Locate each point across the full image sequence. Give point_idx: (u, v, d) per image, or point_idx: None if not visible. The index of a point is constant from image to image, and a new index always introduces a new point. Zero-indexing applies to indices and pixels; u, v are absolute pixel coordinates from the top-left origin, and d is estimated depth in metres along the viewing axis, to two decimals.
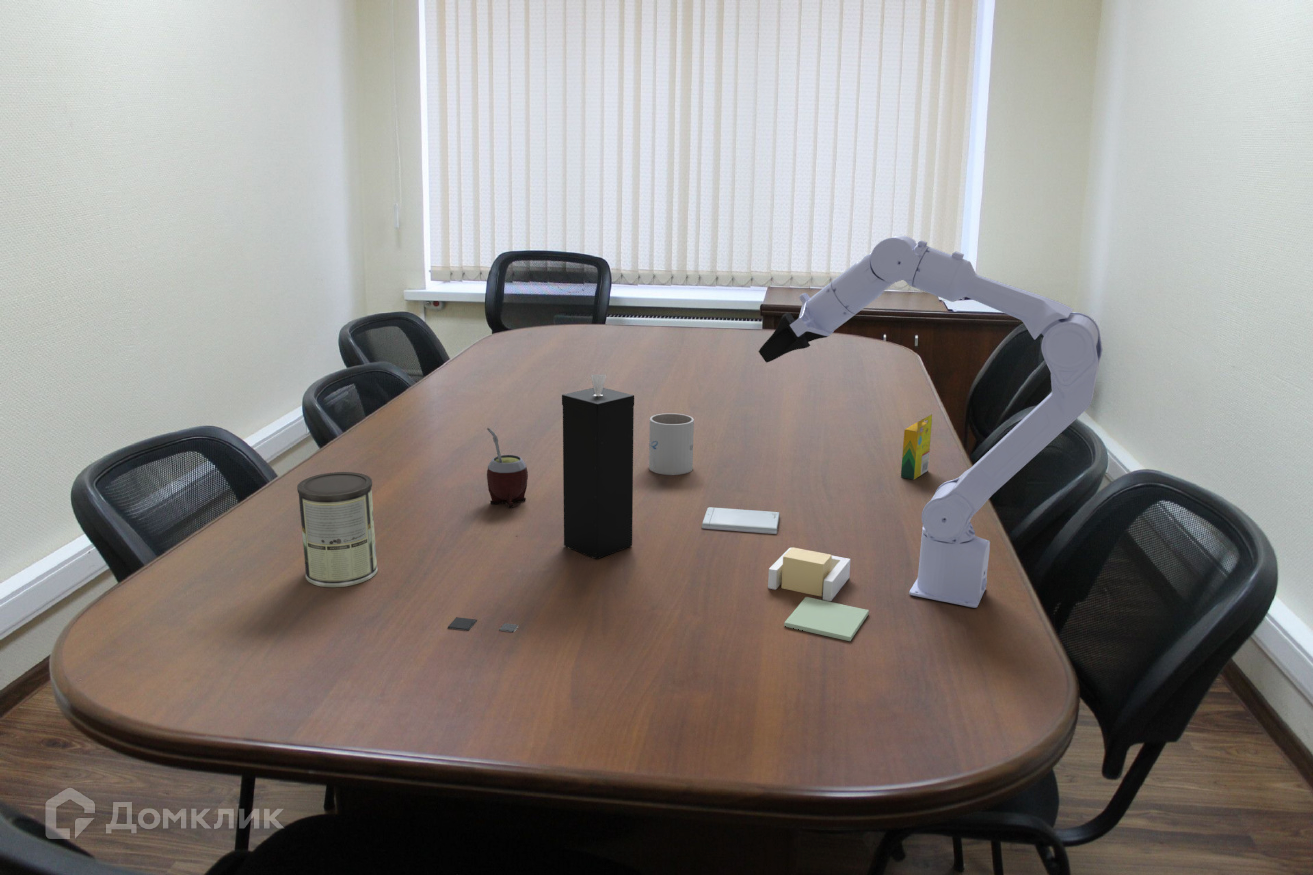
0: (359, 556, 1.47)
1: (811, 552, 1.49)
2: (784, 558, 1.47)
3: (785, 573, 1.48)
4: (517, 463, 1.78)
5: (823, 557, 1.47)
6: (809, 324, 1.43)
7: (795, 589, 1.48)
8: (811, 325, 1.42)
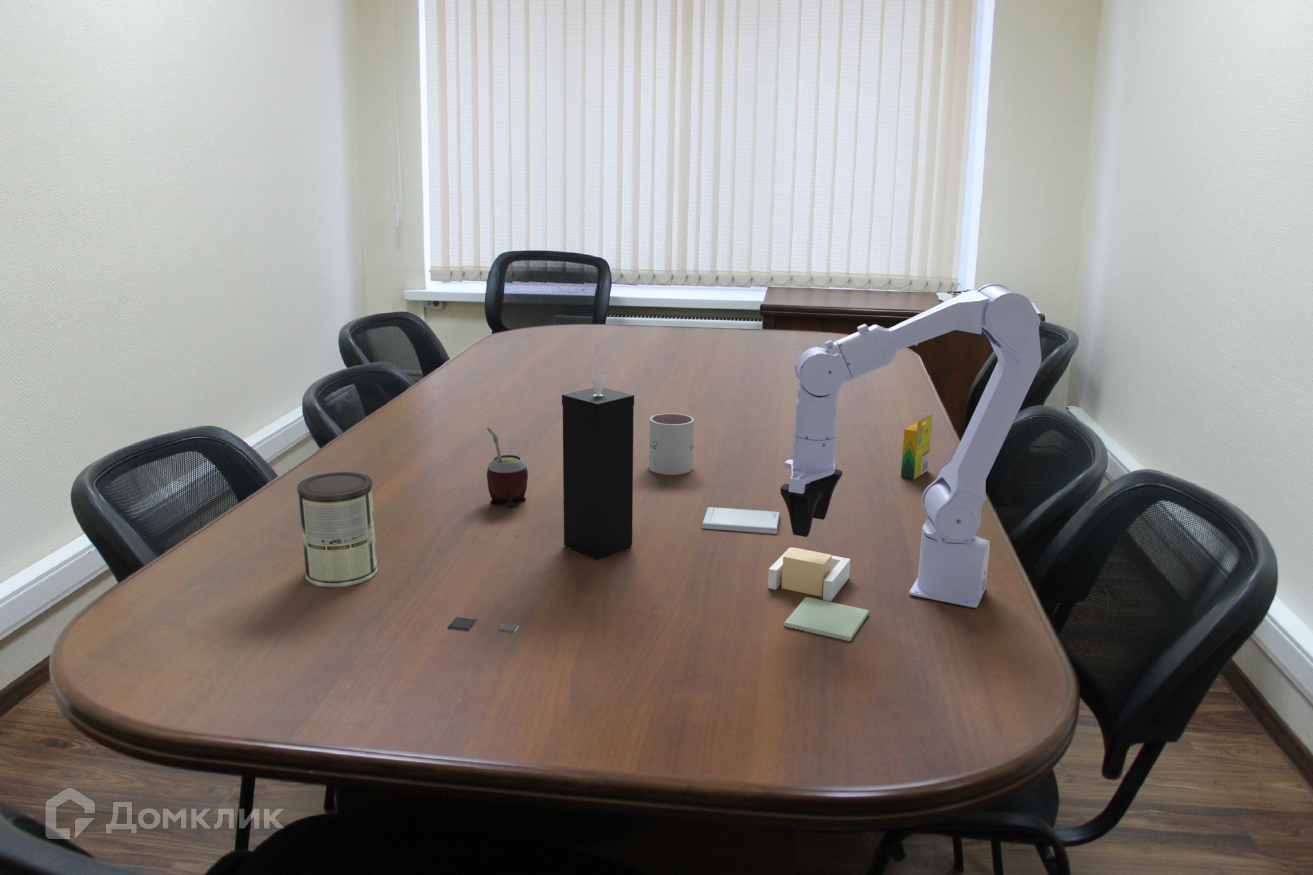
0: (359, 556, 1.47)
1: (811, 552, 1.49)
2: (784, 558, 1.47)
3: (785, 573, 1.48)
4: (517, 463, 1.78)
5: (823, 557, 1.47)
6: (804, 477, 1.40)
7: (795, 589, 1.48)
8: (806, 476, 1.40)
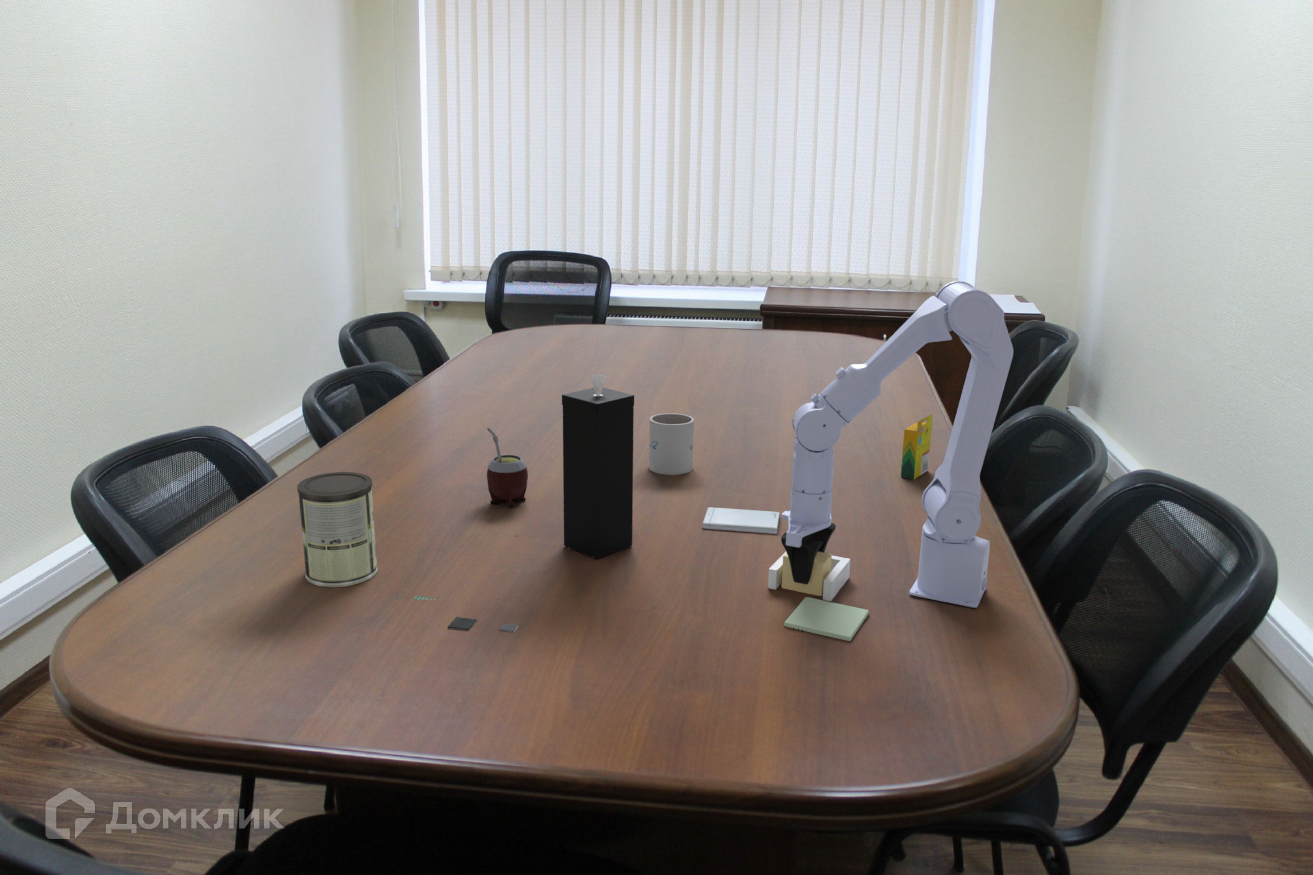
0: (359, 556, 1.47)
1: None
2: (784, 558, 1.47)
3: (785, 572, 1.48)
4: (517, 463, 1.78)
5: (823, 557, 1.47)
6: (801, 530, 1.42)
7: (795, 588, 1.48)
8: (803, 529, 1.42)
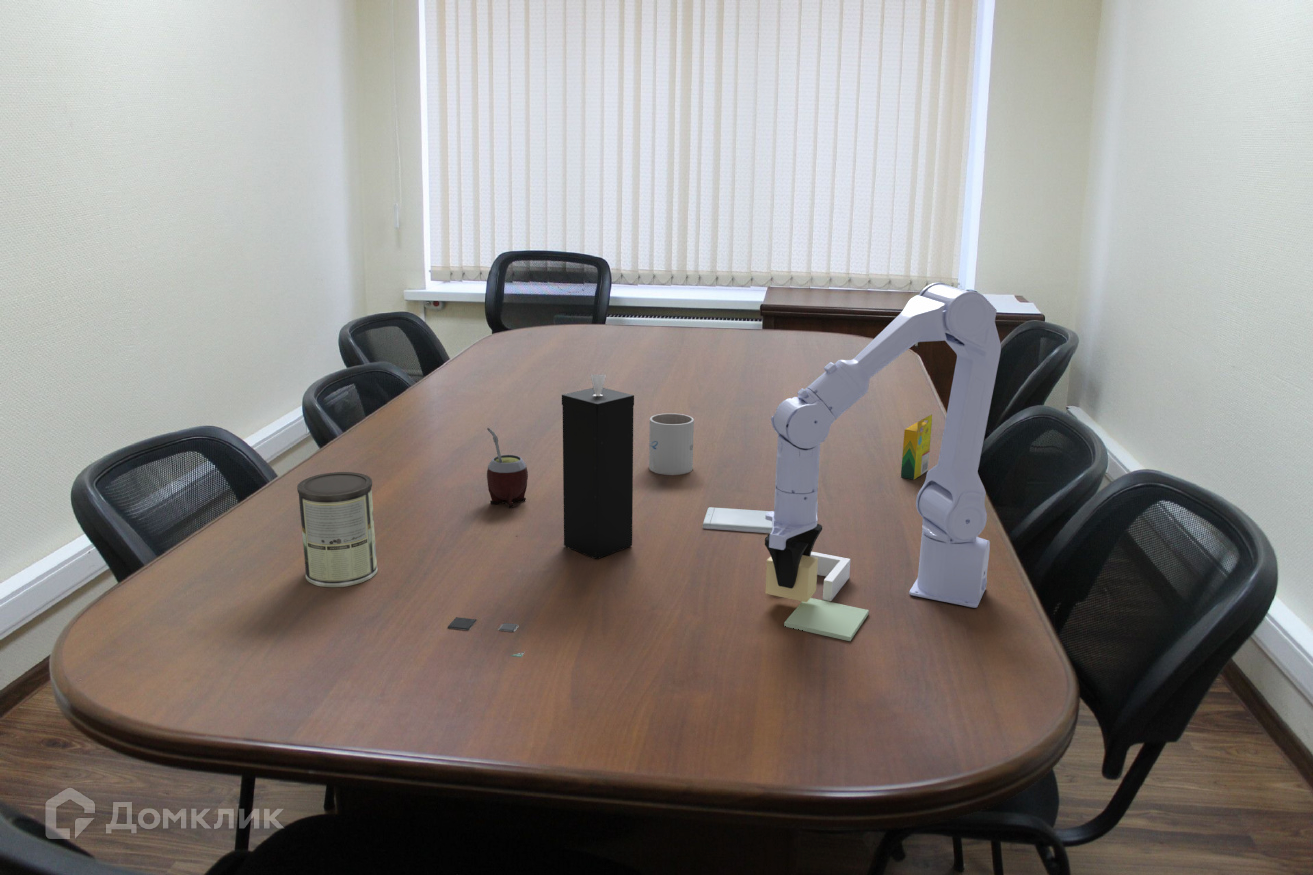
0: (359, 556, 1.47)
1: None
2: (768, 562, 1.41)
3: (769, 577, 1.41)
4: (517, 463, 1.78)
5: (809, 561, 1.40)
6: (785, 532, 1.35)
7: (780, 594, 1.41)
8: (788, 531, 1.35)
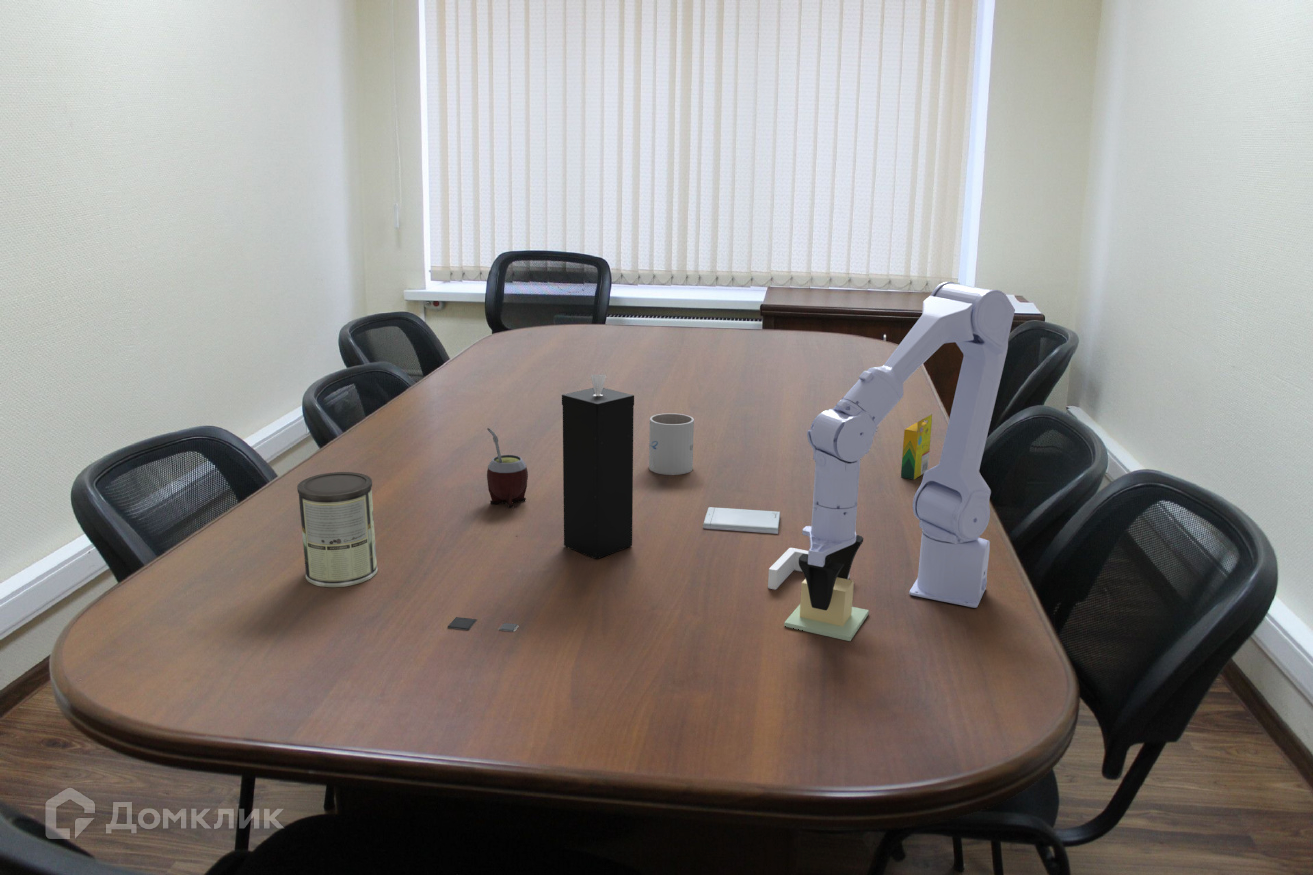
0: (359, 556, 1.47)
1: None
2: (803, 585, 1.37)
3: (804, 600, 1.37)
4: (517, 463, 1.78)
5: (845, 584, 1.37)
6: (824, 548, 1.31)
7: (814, 618, 1.37)
8: (827, 547, 1.31)
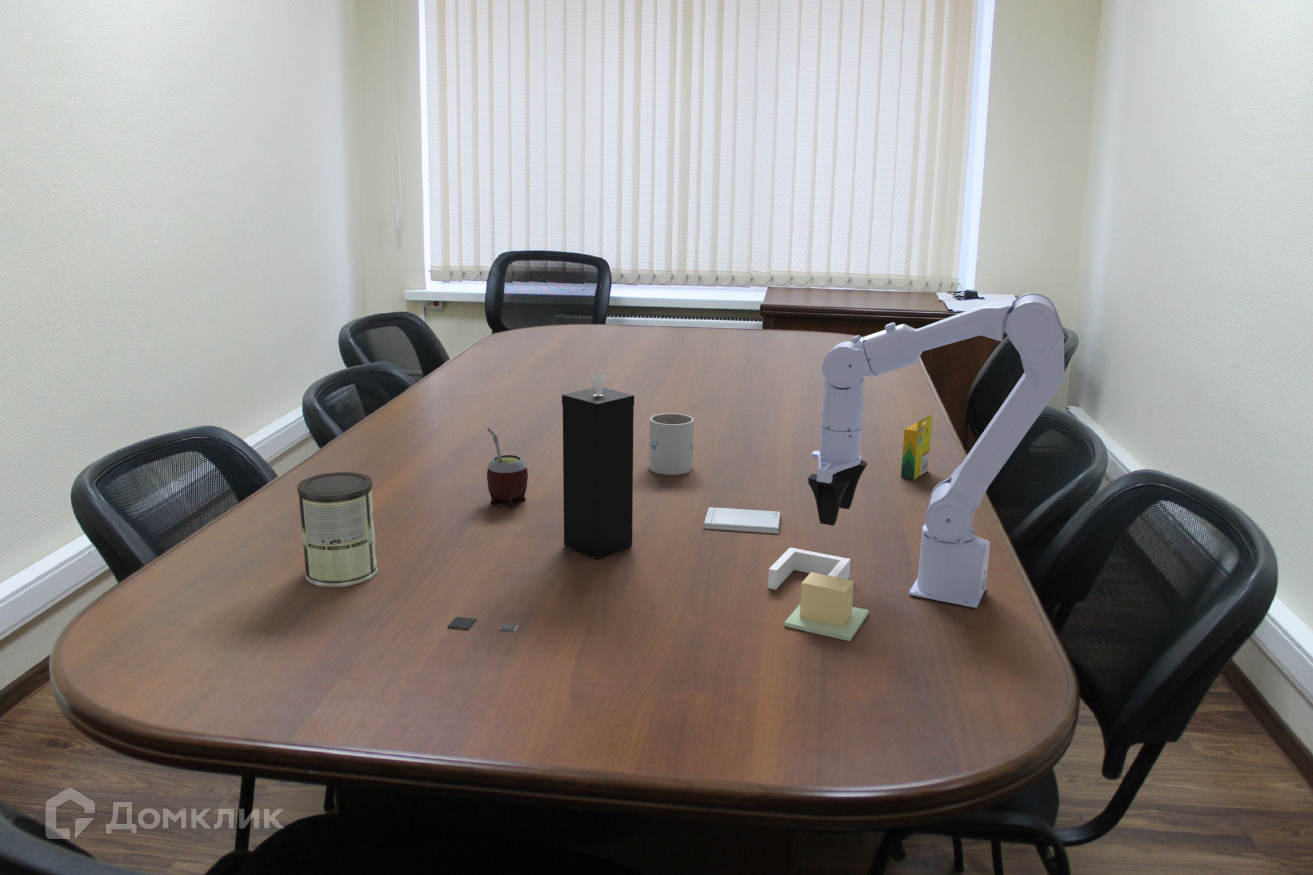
0: (359, 556, 1.47)
1: (831, 577, 1.39)
2: (803, 585, 1.37)
3: (804, 600, 1.37)
4: (517, 463, 1.78)
5: (845, 584, 1.37)
6: (832, 467, 1.44)
7: (814, 618, 1.37)
8: (834, 466, 1.44)
